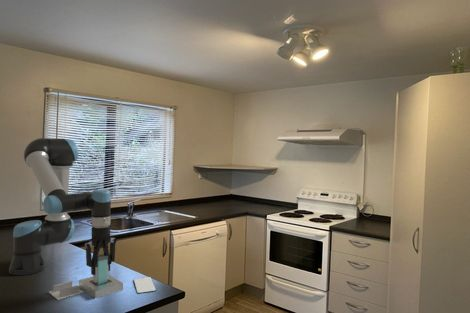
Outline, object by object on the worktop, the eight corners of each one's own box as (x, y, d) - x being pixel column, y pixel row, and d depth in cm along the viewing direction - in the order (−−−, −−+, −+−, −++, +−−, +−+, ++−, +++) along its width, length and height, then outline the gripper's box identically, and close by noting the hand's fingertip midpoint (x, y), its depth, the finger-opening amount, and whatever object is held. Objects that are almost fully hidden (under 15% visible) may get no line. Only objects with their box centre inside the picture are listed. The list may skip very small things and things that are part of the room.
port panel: (78, 287, 148) (78, 279, 148) (105, 279, 157) (105, 272, 157) (95, 298, 137) (95, 290, 137) (123, 289, 146) (123, 282, 146)
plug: (93, 283, 147) (93, 256, 146) (103, 281, 150) (103, 254, 150) (98, 286, 144) (98, 258, 144) (107, 283, 147) (107, 256, 147)
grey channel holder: (48, 292, 142) (48, 285, 142) (73, 285, 149) (73, 279, 149) (57, 300, 135) (57, 293, 135) (83, 292, 142) (83, 285, 142)
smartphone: (156, 292, 145) (150, 278, 160) (156, 290, 145) (150, 276, 160) (137, 295, 142) (133, 280, 157) (137, 293, 142) (133, 278, 157)
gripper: (84, 230, 138) (84, 288, 138) (123, 224, 150) (123, 277, 151) (77, 227, 143) (76, 283, 143) (115, 221, 155) (115, 272, 156)
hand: (100, 280), depth 147 cm, fingers closed on plug, 4 cm apart
